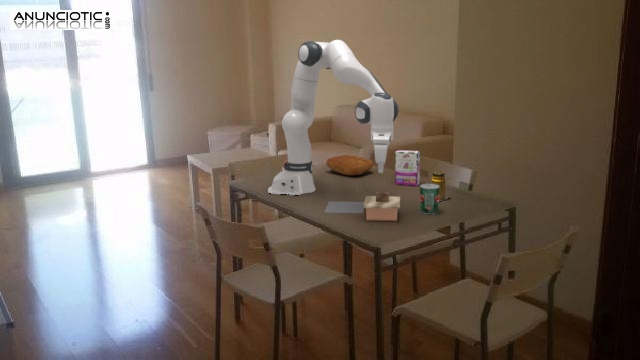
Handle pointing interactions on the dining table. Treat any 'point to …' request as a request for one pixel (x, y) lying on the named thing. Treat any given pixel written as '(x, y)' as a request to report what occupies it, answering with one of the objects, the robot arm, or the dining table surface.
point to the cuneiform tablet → (349, 164)
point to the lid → (382, 201)
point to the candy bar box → (407, 168)
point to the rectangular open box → (381, 214)
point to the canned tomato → (429, 198)
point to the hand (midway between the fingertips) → (381, 169)
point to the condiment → (439, 183)
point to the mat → (344, 207)
